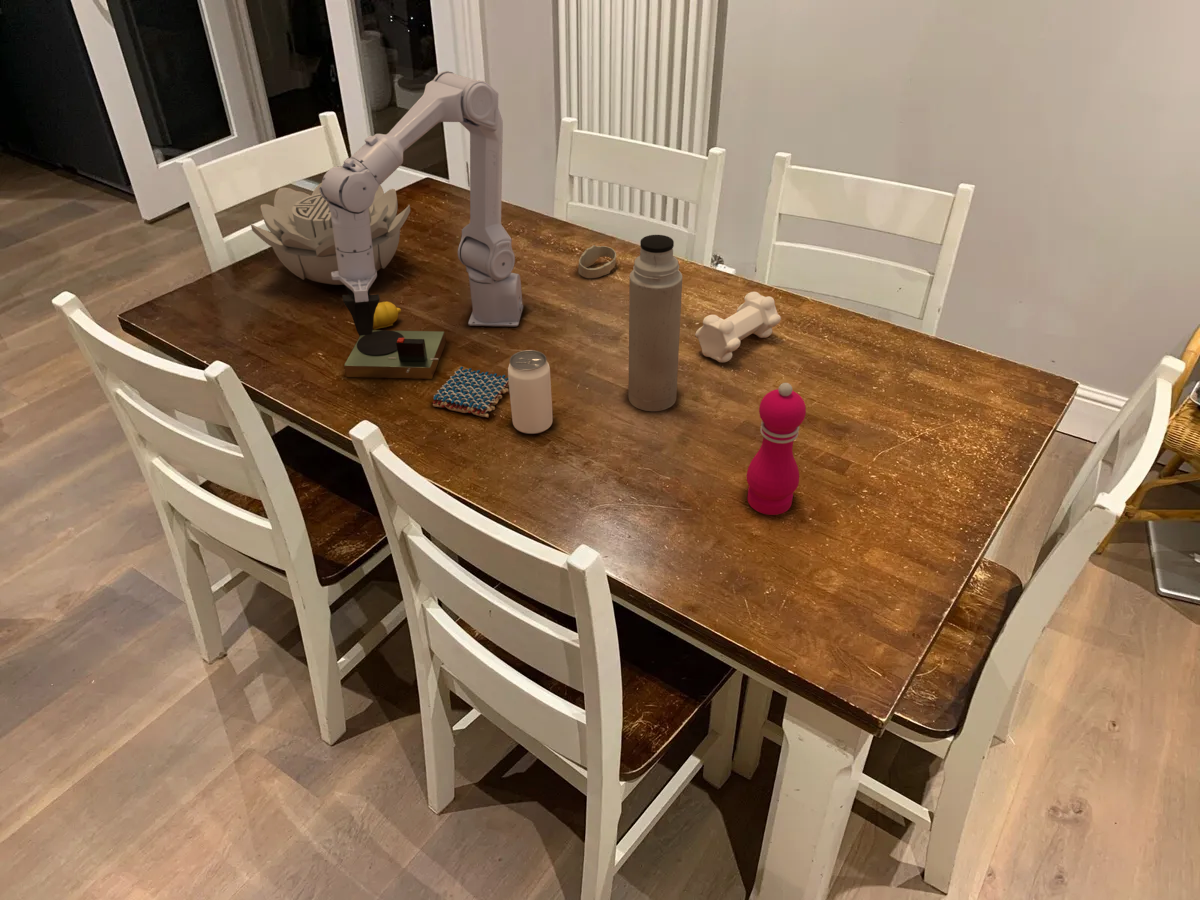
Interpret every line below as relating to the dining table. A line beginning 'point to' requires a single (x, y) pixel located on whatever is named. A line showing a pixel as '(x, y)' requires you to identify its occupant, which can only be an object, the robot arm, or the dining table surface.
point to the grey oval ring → (590, 258)
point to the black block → (411, 349)
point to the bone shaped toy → (737, 326)
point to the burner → (379, 343)
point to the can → (530, 392)
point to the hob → (390, 363)
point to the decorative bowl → (324, 232)
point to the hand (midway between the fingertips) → (363, 323)
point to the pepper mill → (776, 452)
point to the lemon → (385, 315)
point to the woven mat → (471, 392)
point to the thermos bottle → (654, 325)
